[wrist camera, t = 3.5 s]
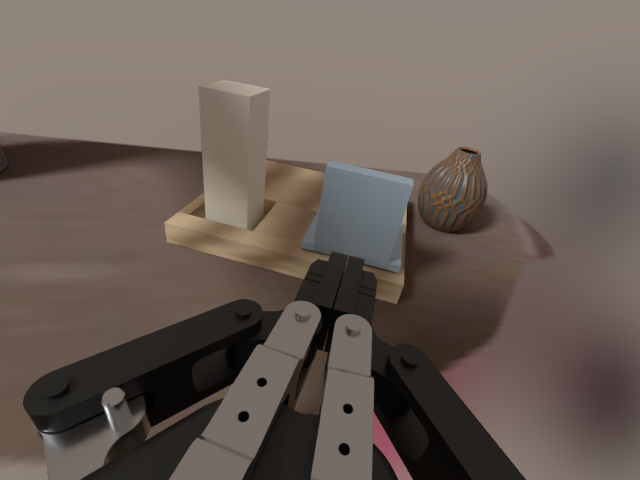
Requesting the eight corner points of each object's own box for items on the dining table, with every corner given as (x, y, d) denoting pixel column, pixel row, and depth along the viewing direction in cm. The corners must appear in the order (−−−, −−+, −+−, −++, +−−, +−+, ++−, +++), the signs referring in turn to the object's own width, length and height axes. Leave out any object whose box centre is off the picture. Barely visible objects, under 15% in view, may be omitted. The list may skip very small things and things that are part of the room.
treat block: (206, 226, 31) (198, 86, 24) (226, 207, 34) (224, 79, 27) (246, 236, 30) (250, 96, 24) (263, 216, 34) (270, 89, 27)
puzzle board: (167, 242, 29) (164, 222, 28) (251, 171, 44) (251, 156, 43) (396, 304, 26) (403, 285, 25) (402, 206, 41) (407, 192, 40)
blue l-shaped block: (300, 247, 27) (312, 162, 23) (322, 205, 34) (334, 133, 30) (398, 272, 26) (428, 189, 22) (401, 224, 33) (425, 153, 29)
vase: (399, 210, 40) (422, 138, 35) (443, 206, 43) (469, 139, 38) (436, 243, 35) (468, 164, 30) (483, 236, 38) (519, 162, 33)
